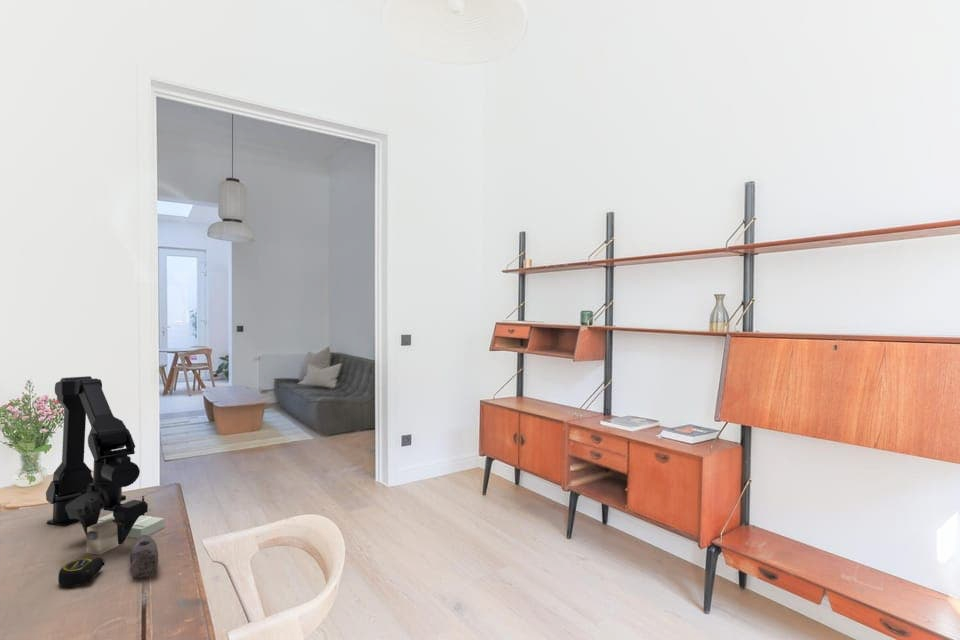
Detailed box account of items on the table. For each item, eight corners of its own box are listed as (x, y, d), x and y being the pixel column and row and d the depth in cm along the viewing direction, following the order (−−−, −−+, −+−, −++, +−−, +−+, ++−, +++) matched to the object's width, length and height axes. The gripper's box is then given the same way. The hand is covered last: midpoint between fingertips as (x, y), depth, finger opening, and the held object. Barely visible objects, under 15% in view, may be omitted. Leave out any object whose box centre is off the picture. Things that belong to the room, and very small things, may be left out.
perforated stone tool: (128, 557, 114) (129, 528, 114) (155, 552, 117) (156, 523, 117) (128, 587, 102) (129, 554, 102) (158, 580, 105) (159, 548, 105)
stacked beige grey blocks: (82, 554, 115) (83, 529, 115) (114, 539, 123) (114, 516, 123) (95, 556, 114) (96, 531, 114) (126, 541, 122) (127, 517, 122)
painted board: (90, 531, 127) (90, 521, 127) (115, 520, 134) (115, 511, 134) (140, 538, 124) (141, 528, 124) (164, 527, 130) (164, 518, 130)
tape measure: (90, 588, 102) (91, 570, 102) (50, 592, 99) (51, 574, 99) (104, 571, 108) (105, 554, 108) (67, 575, 106) (68, 558, 106)
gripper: (42, 484, 113) (39, 551, 113) (107, 493, 109) (104, 562, 109) (89, 470, 124) (87, 531, 124) (150, 477, 120) (148, 540, 120)
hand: (105, 541), depth 119 cm, fingers open, 9 cm apart
